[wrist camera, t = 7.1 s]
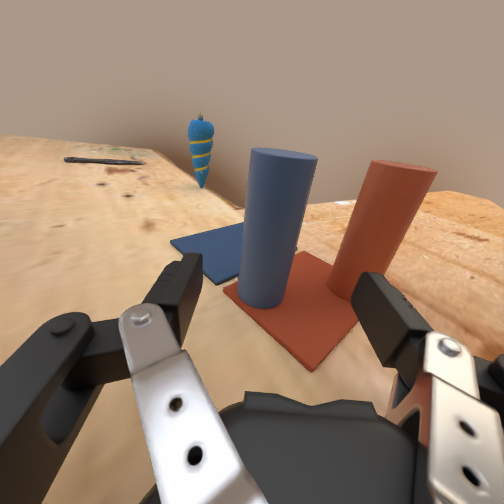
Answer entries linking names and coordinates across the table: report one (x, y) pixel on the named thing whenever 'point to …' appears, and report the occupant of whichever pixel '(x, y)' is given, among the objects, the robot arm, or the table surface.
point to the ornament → (200, 147)
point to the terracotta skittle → (379, 221)
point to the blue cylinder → (272, 223)
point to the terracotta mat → (305, 312)
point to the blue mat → (216, 251)
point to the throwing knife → (101, 160)
